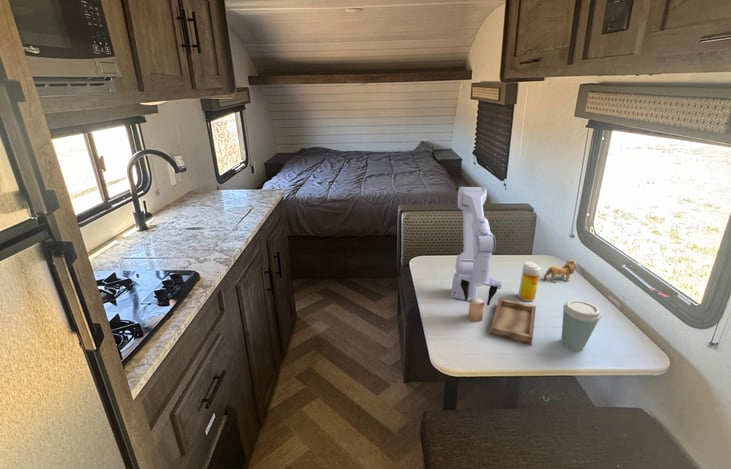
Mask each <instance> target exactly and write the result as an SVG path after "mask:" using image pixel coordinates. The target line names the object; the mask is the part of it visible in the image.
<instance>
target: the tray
mask: <svg viewBox="0 0 731 469" xmlns="http://www.w3.org/2000/svg"><path fill="white" fill-rule="evenodd" d="M497 301H498V302H497V305H496V308H495V313H494V317H493V320H492V324H491V327H490V328H491V329H490V336H494V337H497V338H502V339H506V340H509V341H514V342H517V343H521V344H526V345H529V346H532V343H533V338H534V327H535V318H536V311H537V310H536V309H537V306H536V305H531V304H525V303H522V302H517V301H512V300H507V299H502V298H498V300H497Z"/></svg>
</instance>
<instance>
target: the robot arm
mask: <svg viewBox="0 0 731 469" xmlns="http://www.w3.org/2000/svg"><path fill="white" fill-rule="evenodd" d="M487 192H488V191H487V189H486V187H485V186H459V187H458V190H457V208H458V209H460V210H461V211H462V218H463V219H462V223H463V224H462V226H463V227H462V228H463V229H462V230H463V231H462V232H463V233H462V234H463V235H462V236H463V239H462V240H463V243H462V244H463V251H462V252H460V254H459V255H457V256H456V258H455V259H456V262H455V273H454V275H453V277H452V284H451V294H450V297H451V298H455V299H458V300H463V301H466V302H470V299H471V298H478V294H479V291H477V290H478V287H482V286H486V287H489V290H488V298H487V302H486V306H487V307H488V306H490V304H491V301H492V299H493V297H494V296H495V295H496V293H497V291H498V290H501V289H502V281H500V280H496V279H493V278H491V277H490V272H491V271H490V270H491V263H492V255H493V253H494V252H496V246H497V243H496V236H495V235H494V234H493V232H491V228H490V223H489V220H488V218H486V217H485V214H484V205H485V202H486V201H487V196H488V194H487Z"/></svg>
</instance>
